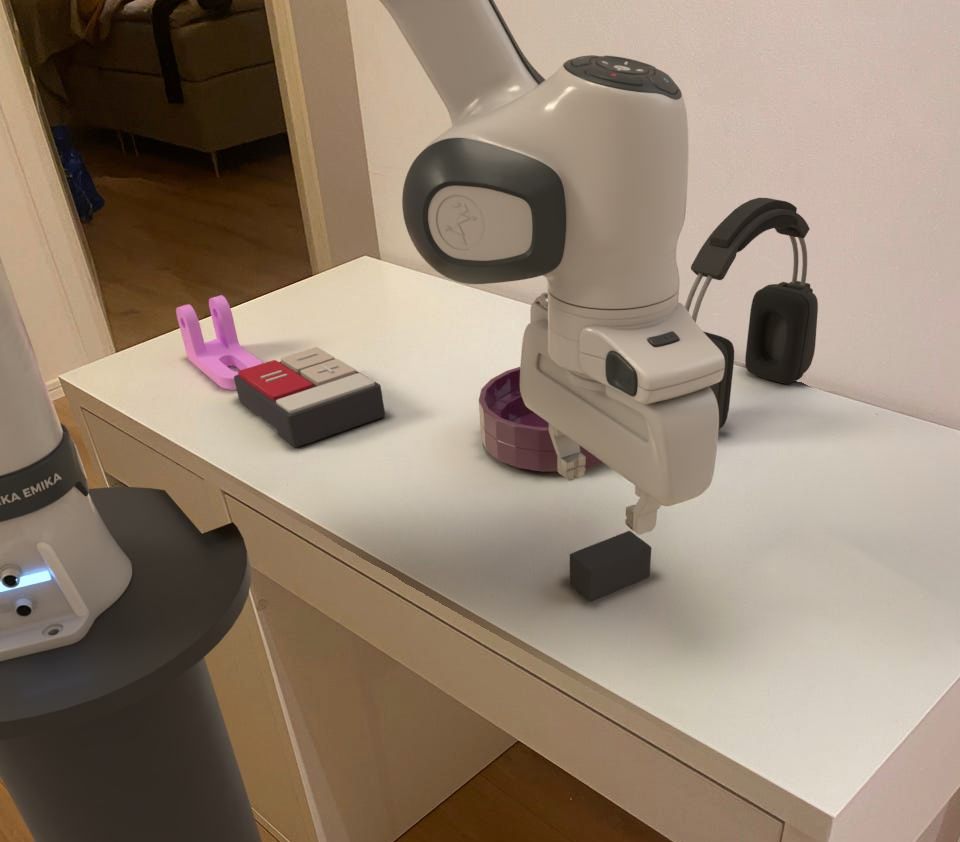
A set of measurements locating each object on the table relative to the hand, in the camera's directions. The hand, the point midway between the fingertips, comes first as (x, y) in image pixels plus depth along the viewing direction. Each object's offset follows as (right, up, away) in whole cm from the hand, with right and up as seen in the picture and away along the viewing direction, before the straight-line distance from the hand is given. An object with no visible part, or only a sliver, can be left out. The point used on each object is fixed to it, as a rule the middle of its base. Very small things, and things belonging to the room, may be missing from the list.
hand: (604, 500), depth 77 cm
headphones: (+17, +14, +28) cm, 36 cm away
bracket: (-40, +22, +42) cm, 62 cm away
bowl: (-2, +10, +24) cm, 26 cm away
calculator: (-28, +15, +33) cm, 46 cm away
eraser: (+1, -6, +5) cm, 8 cm away
